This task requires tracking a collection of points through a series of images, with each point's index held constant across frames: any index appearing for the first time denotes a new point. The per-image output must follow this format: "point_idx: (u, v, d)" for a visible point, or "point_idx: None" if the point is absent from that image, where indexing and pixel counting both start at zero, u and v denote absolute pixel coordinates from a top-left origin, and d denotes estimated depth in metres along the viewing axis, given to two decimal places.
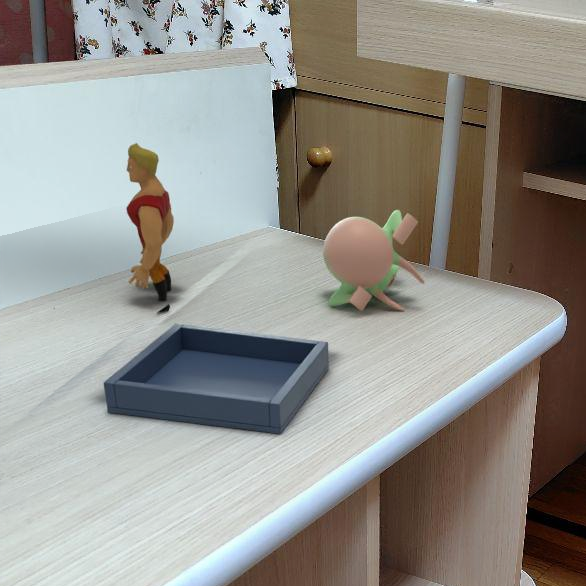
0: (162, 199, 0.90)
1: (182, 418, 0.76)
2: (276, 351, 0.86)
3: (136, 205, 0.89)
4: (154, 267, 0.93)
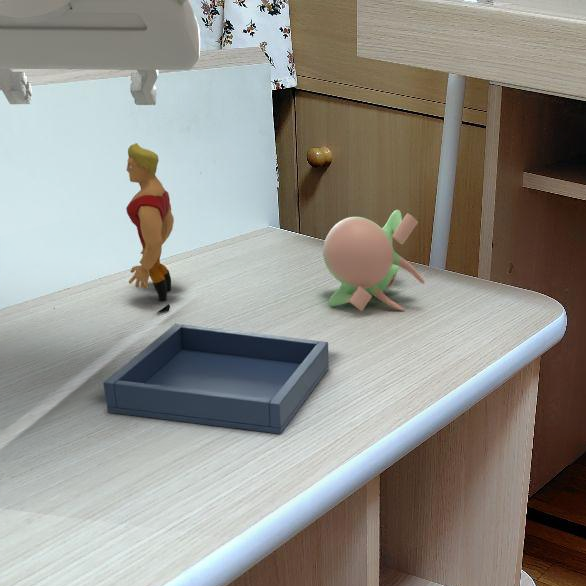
0: (162, 199, 0.90)
1: (182, 418, 0.76)
2: (276, 351, 0.86)
3: (136, 205, 0.89)
4: (154, 267, 0.93)
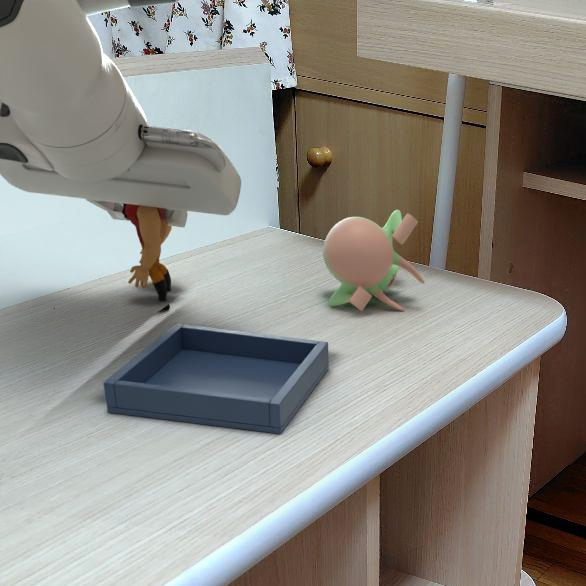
0: None
1: (182, 418, 0.76)
2: (276, 351, 0.86)
3: (134, 205, 0.89)
4: (153, 267, 0.93)
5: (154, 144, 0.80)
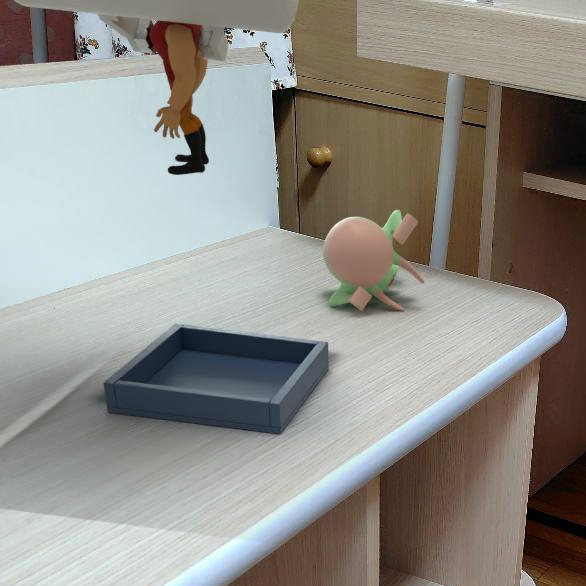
0: None
1: (182, 418, 0.76)
2: (276, 351, 0.86)
3: (162, 26, 0.70)
4: (185, 114, 0.74)
5: None
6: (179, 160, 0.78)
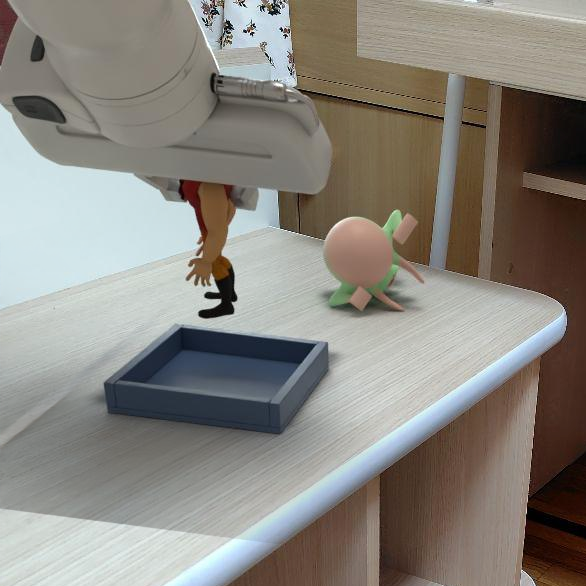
0: None
1: (182, 418, 0.76)
2: (276, 351, 0.86)
3: (195, 181, 0.71)
4: (216, 260, 0.75)
5: (230, 99, 0.62)
6: (208, 298, 0.79)
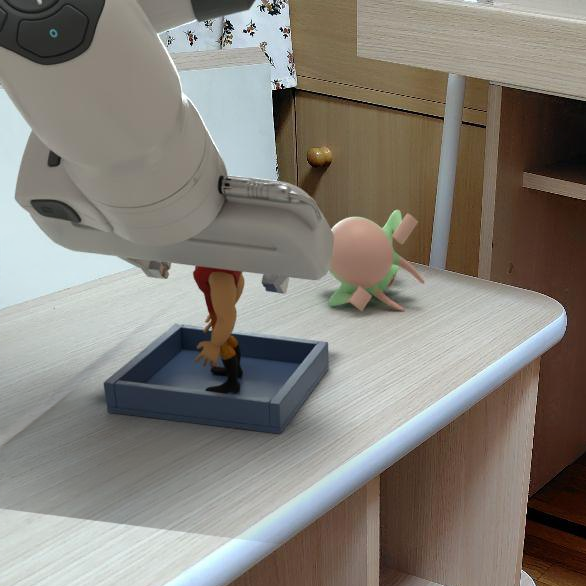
0: None
1: (182, 418, 0.76)
2: (276, 351, 0.86)
3: (206, 270, 0.74)
4: None
5: (237, 199, 0.65)
6: (214, 372, 0.83)
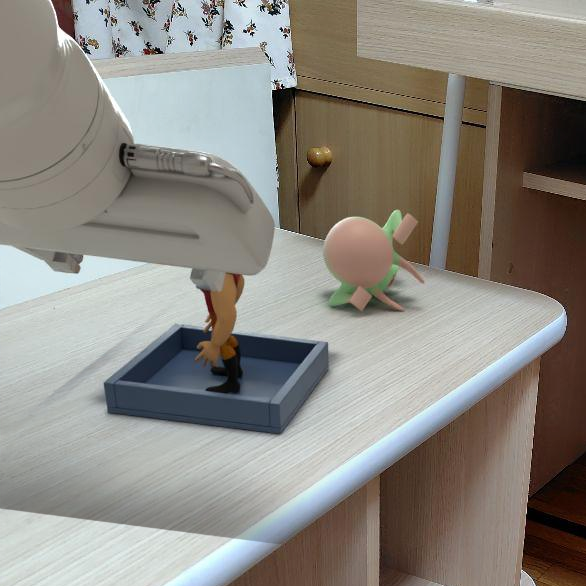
0: None
1: (182, 418, 0.76)
2: (276, 351, 0.86)
3: None
4: None
5: (145, 174, 0.52)
6: (214, 372, 0.83)
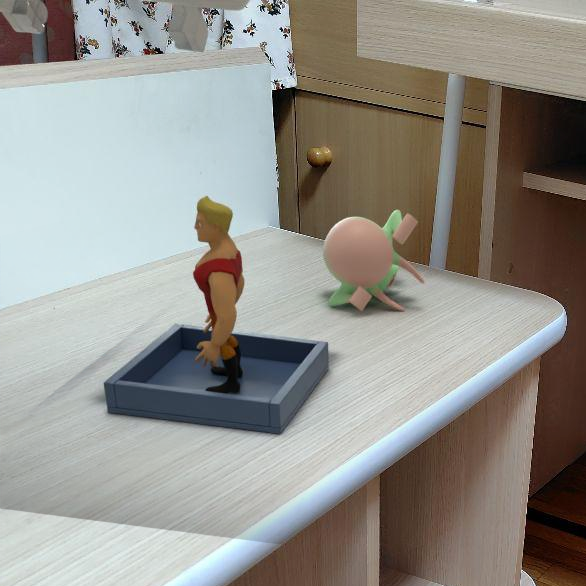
0: (236, 262, 0.75)
1: (182, 418, 0.76)
2: (276, 351, 0.86)
3: (206, 270, 0.74)
4: None
5: None
6: (214, 372, 0.83)
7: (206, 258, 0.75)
